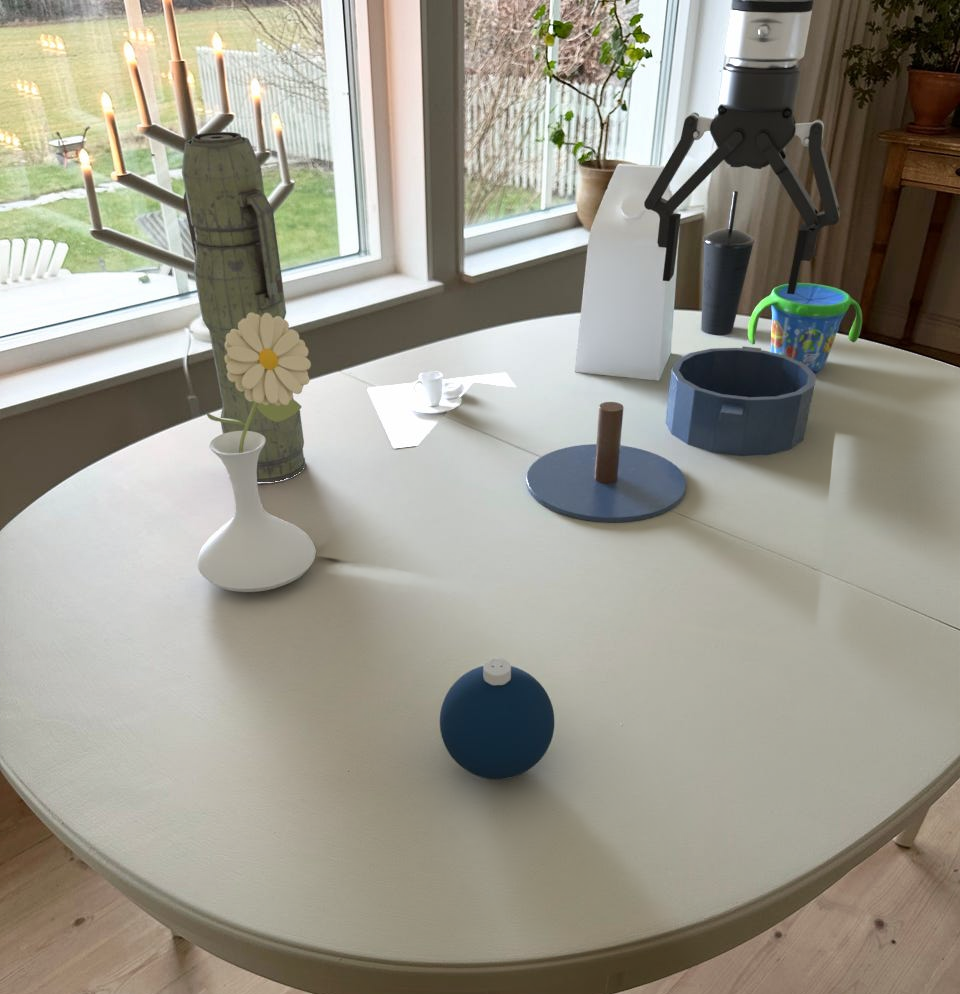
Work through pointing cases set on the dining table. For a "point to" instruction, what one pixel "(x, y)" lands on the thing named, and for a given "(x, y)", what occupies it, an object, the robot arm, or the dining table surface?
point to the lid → (606, 477)
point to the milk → (626, 283)
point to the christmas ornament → (497, 721)
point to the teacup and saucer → (423, 403)
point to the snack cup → (806, 321)
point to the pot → (739, 401)
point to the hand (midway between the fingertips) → (728, 284)
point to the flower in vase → (252, 531)
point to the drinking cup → (724, 275)
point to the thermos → (237, 276)
